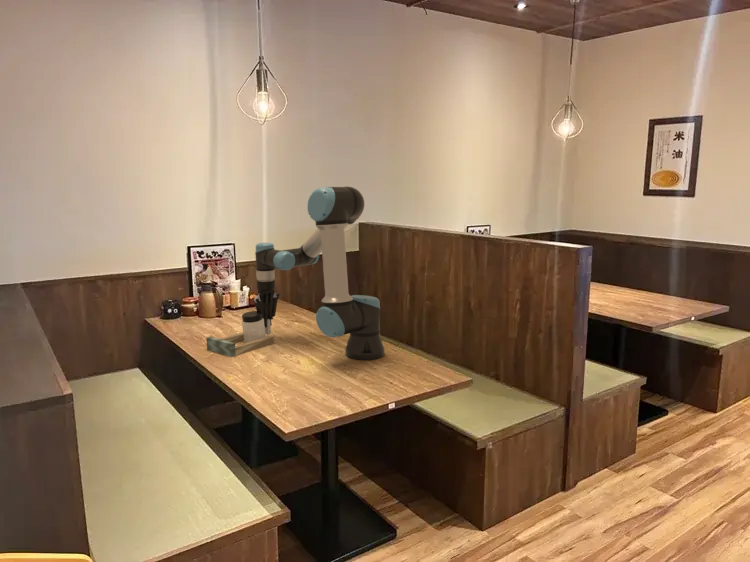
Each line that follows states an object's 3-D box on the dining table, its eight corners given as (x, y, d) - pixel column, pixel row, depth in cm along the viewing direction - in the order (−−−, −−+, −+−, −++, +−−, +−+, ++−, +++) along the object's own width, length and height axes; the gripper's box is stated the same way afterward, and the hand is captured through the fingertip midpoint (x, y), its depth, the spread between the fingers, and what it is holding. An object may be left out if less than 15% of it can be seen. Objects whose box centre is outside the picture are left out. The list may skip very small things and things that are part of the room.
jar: (244, 345, 236) (240, 317, 233) (244, 339, 244) (241, 312, 241) (266, 343, 238) (262, 315, 235) (266, 336, 245) (262, 309, 242)
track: (273, 343, 239) (273, 331, 238) (231, 356, 222) (230, 344, 221) (249, 337, 248) (249, 325, 247) (207, 349, 230) (206, 337, 230)
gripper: (271, 276, 249) (272, 329, 253) (247, 281, 239) (249, 335, 243) (283, 278, 244) (284, 332, 249) (259, 283, 234) (261, 339, 239)
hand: (267, 333), depth 246 cm, fingers closed
